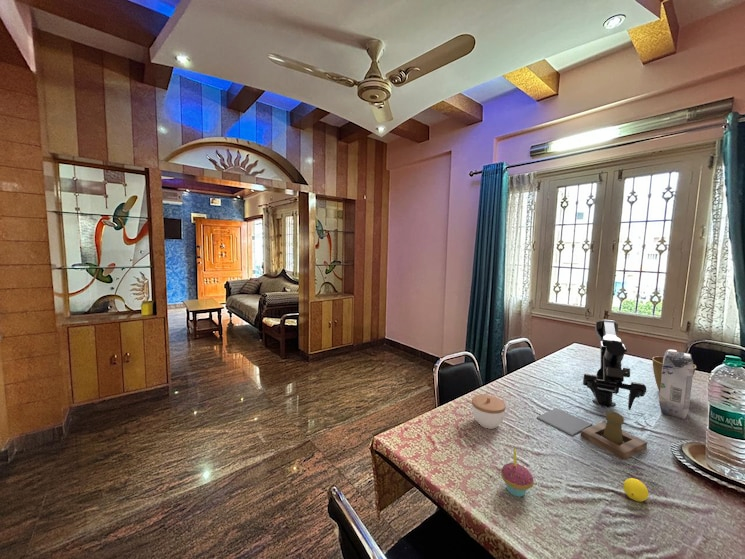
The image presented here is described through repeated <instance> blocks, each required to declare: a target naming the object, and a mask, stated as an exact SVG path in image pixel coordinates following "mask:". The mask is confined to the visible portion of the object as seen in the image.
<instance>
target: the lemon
mask: <svg viewBox="0 0 745 559" xmlns="http://www.w3.org/2000/svg"><path fill="white" fill-rule="evenodd" d="M622 488H623V491H624V493H625V494H626V495H627V497H628V498H629V499H632V500H634V501H635V502H643V501H646V500H647V499H648V497H649V496H650V495H649V490H648V488H647V486H646V484H645V483H644V482H642V481H640V480H639V479H637V478H633V477H631V478H626V480H624V481H623V485H622Z"/></svg>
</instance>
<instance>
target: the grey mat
mask: <svg viewBox="0 0 745 559" xmlns="http://www.w3.org/2000/svg"><path fill="white" fill-rule="evenodd" d="M536 419H538V420H540V421H542V422H543V423H546V424H548V425H550V426H551V427H553V428H556V429H558V430H559V431H561V432H564V433H565V434H567V435H569V436H572V437H574V436H575V435H578V434H579V433H581V430H583V429H586V428H588V427H591V426H593V423H591V422H588V421H586V420H584V419H583V418H580V417H577V416H575V415H573V414H570V413H568V412H566V411H564V410H561V409H559V408H558V407H555V408H553V409H551V410H549V411H546V412H544V413H542V414H540V415H538V416H536Z"/></svg>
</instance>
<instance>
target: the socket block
mask: <svg viewBox="0 0 745 559" xmlns="http://www.w3.org/2000/svg"><path fill="white" fill-rule="evenodd" d="M606 423H607V421H606V422H605V421H601V422H598V423H596V424H592V426H590V427H588V428H586V429H583V430H581V432H580V435H579V436H580V438H582V439H584V440H586V441H588V442H589V443H592V444H593V445H595V446H596V447H599V448H601V449H602V450H604V451H606V452H608V453H609V454H612V456H613V455H614V456H615V457H617V458H618V459H621V460H623V461H625V460H628V459H629V458H631V457H633V456H636V455H637V454H639V453H641V452H643V451H645V450H647V447H648V441H646V440H644V439H642V438H639V437H637V436H635V435H633V434H632V433H629V432H627V431H625V430H623V429H622V438H623V444H622V445H617V444H615V443H613V442H611V441H610V440H608V439H606V438H604V437H603V434H604V430H605V427H606Z"/></svg>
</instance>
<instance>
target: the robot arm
mask: <svg viewBox="0 0 745 559" xmlns="http://www.w3.org/2000/svg"><path fill="white" fill-rule="evenodd" d="M594 331H595V332H596V338H598V340H599V341H600V342H599V350H600V356H599V357H600V368H599V369H598V370H597V371H596V374H591V373H590V374H589V373H584V374H583V379H582V385H583V386H586V388H587V389H589V390H590V391H591V393H592V395H593V396H594V399H592V402H594V403H596V404H598V405H601V406H603V407H605V408H610V407H613V406H616V404H617V403H616V402H613V396H614V395H613V394H615V395H618V394H619V392H620V389H622V390H627V391H629V394H628V405H627V407H628V408H627V409H628V410H629V411H631V409H632V406H633V403H634V400H635V399H639V398H641V397H644V396H645V394H646V393H647V386H646V385H645V384H644V383H641V382H636V381H635V382H634V381H631V383H630V384H628V383H623V382H624V381H625V380H624V378H630V377H631V369H630V368H627V367H622V361H623V359H624V355H625V354H626V353H627V351H628V349H627V347H626V346H625V344H624V343H623V342H622V338H620V337H618V336H617V334H618V333H619V324H618V323H617V322H616V320H614V319H613V320H611V319H601V320H600V321H596V322H595V327H594Z"/></svg>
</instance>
